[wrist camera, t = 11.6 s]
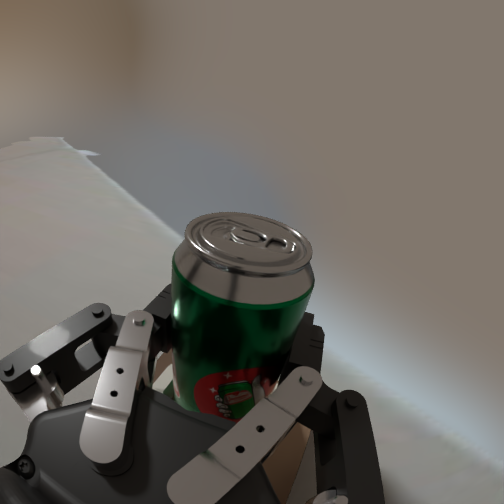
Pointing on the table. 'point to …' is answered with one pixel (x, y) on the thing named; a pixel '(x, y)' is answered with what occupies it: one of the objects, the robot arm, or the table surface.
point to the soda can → (235, 310)
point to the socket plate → (283, 452)
